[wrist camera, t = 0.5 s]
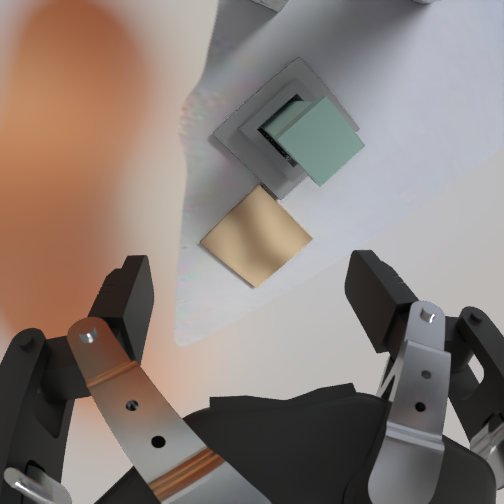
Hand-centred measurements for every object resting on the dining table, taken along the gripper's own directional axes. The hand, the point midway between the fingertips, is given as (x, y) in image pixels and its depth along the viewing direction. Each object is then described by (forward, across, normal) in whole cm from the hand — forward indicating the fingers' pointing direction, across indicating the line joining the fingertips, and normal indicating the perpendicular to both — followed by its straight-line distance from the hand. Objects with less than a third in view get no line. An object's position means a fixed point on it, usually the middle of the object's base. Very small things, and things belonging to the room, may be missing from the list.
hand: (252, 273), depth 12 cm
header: (+24, -7, -3) cm, 25 cm away
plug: (+24, -7, -3) cm, 25 cm away
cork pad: (+24, -4, +11) cm, 26 cm away
